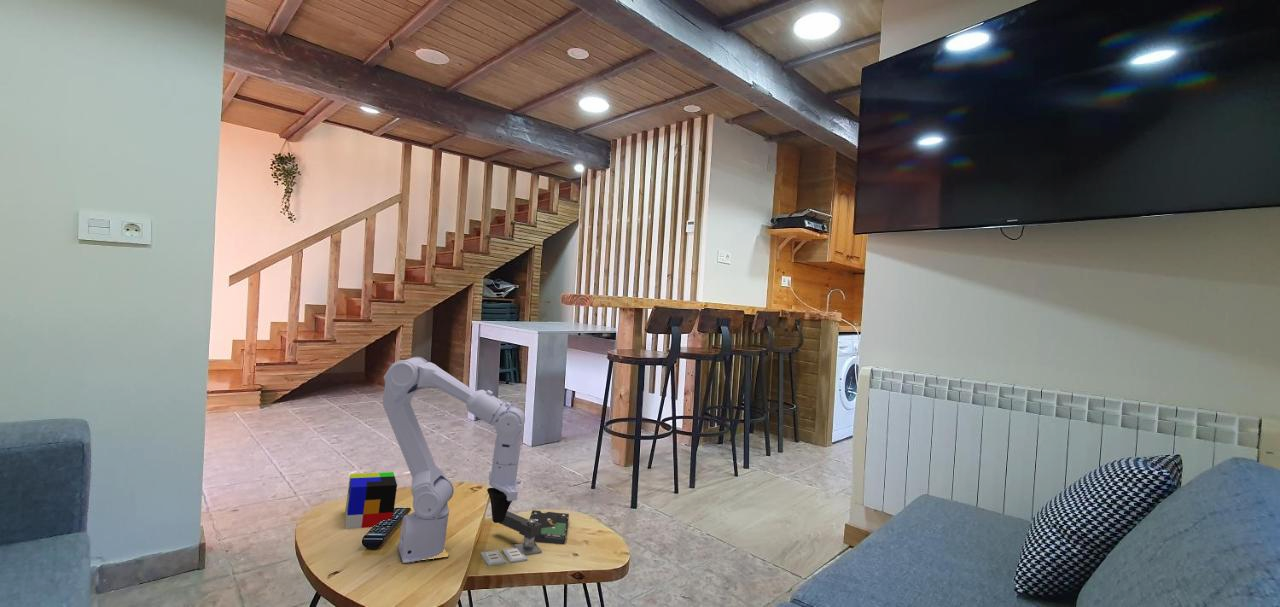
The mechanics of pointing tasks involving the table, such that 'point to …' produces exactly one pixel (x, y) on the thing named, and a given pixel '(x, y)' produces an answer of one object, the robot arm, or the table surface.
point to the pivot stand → (528, 544)
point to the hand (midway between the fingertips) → (497, 521)
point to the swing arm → (521, 525)
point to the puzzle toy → (370, 499)
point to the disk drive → (551, 527)
